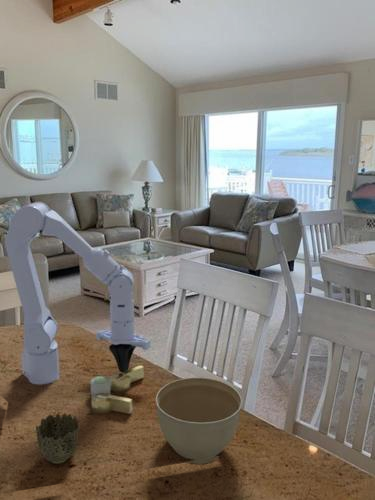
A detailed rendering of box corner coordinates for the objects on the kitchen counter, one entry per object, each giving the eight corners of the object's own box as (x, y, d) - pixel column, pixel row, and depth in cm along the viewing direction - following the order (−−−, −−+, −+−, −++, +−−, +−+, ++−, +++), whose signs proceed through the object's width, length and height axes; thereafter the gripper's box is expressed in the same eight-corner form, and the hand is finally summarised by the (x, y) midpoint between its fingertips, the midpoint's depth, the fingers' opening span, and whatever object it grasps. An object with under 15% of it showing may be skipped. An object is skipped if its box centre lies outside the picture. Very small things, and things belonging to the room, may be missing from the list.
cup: (69, 480, 80) (67, 439, 78) (30, 474, 81) (27, 433, 80) (87, 453, 87) (85, 415, 85) (51, 448, 89) (48, 410, 87)
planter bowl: (162, 484, 79) (162, 427, 77) (151, 429, 95) (150, 381, 92) (252, 472, 82) (254, 417, 80) (227, 421, 98) (228, 374, 95)
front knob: (87, 411, 99) (86, 398, 98) (98, 400, 103) (98, 388, 103) (126, 419, 96) (125, 406, 95) (135, 407, 100) (135, 395, 100)
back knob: (118, 394, 106) (117, 382, 105) (105, 386, 109) (105, 375, 109) (148, 380, 112) (148, 369, 112) (136, 373, 116) (135, 362, 115)
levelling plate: (48, 400, 106) (47, 376, 104) (109, 375, 117) (108, 354, 116) (90, 431, 94) (89, 405, 93) (153, 400, 106) (153, 377, 105)
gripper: (87, 319, 112) (90, 371, 114) (139, 329, 106) (140, 383, 108) (105, 310, 118) (106, 360, 121) (154, 319, 112) (155, 371, 115)
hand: (123, 370), depth 115 cm, fingers closed
